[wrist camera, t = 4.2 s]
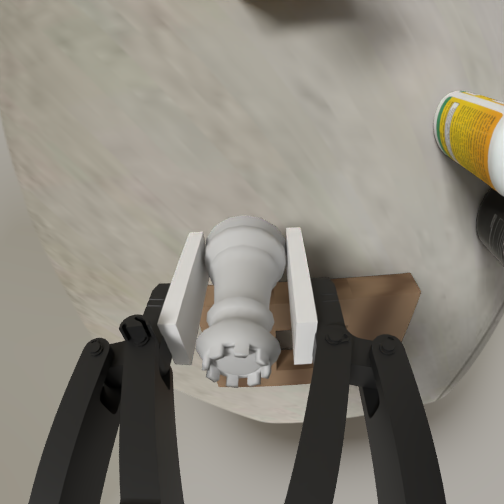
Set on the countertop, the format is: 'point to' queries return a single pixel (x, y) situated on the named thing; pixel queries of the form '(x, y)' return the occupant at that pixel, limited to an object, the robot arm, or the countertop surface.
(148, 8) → the countertop surface
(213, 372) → the rook chess piece
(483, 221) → the supplement bottle
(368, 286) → the walnut socket board
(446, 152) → the supplement bottle
